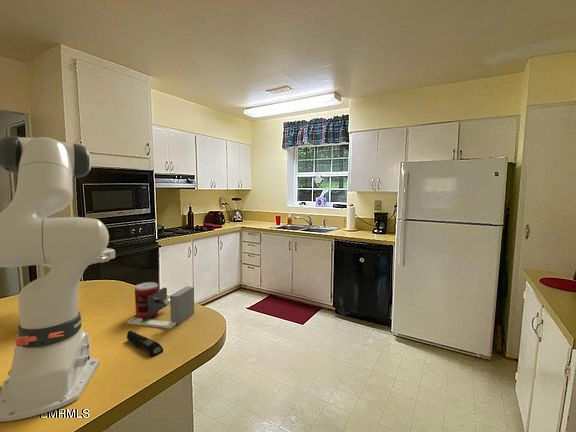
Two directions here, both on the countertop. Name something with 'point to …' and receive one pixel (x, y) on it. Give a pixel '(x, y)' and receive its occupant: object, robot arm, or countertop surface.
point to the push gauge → (173, 310)
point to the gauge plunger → (157, 302)
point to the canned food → (144, 298)
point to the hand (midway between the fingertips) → (105, 259)
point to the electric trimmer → (145, 343)
